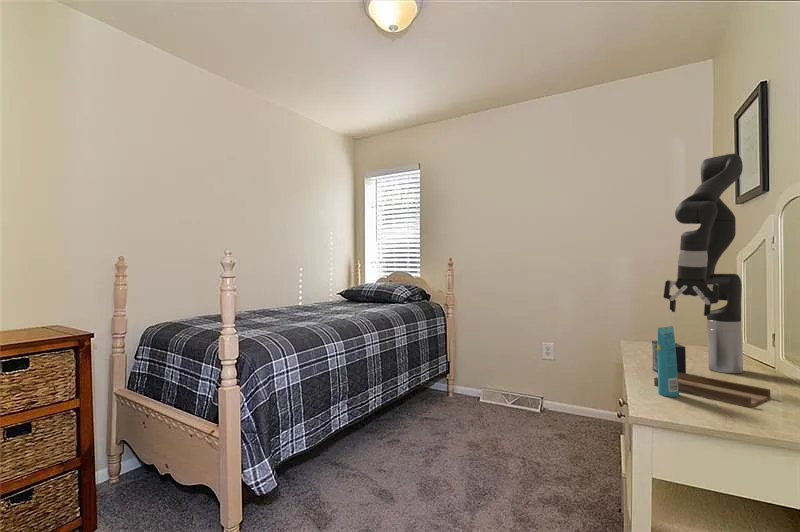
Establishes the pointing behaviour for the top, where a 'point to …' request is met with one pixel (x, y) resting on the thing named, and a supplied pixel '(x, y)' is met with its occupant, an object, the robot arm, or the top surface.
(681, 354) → the small box
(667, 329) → the tube
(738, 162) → the robot arm
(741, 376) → the top surface
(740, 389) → the brown wooden tray
